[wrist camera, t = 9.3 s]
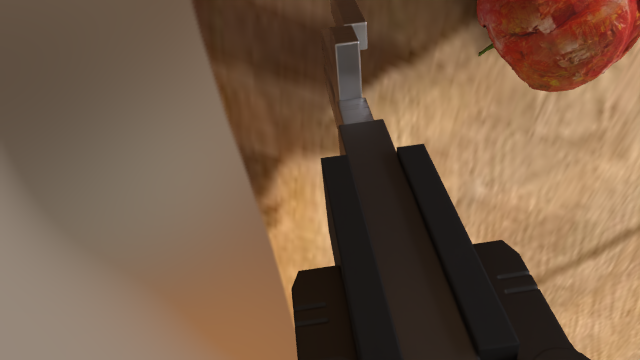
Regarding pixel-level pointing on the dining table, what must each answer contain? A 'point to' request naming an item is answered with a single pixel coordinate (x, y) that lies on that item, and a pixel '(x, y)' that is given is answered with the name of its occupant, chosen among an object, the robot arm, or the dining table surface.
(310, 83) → the dining table surface
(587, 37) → the red round fruit
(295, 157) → the dining table surface
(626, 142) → the dining table surface
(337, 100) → the fork
